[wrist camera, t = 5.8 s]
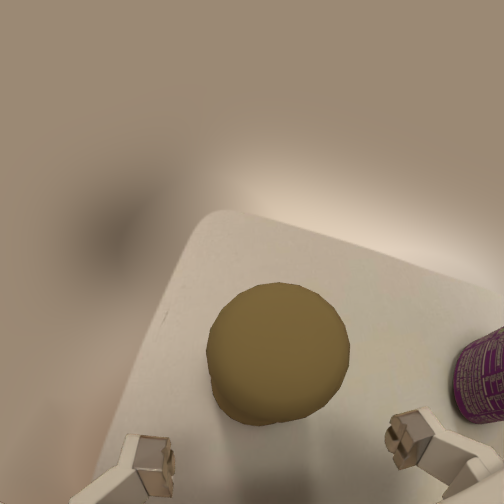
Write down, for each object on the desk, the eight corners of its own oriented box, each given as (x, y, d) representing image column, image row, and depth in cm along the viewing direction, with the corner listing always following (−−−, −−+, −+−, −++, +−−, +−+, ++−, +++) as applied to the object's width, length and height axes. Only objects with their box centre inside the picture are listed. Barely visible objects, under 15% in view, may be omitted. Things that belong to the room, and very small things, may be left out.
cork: (210, 425, 18) (186, 436, 8) (211, 335, 21) (194, 255, 11) (306, 423, 18) (382, 425, 8) (302, 335, 21) (361, 258, 11)
